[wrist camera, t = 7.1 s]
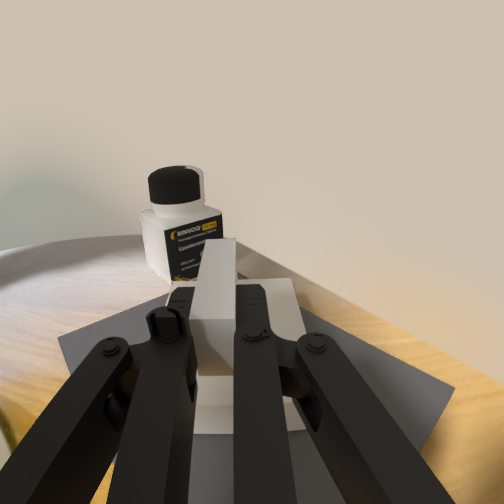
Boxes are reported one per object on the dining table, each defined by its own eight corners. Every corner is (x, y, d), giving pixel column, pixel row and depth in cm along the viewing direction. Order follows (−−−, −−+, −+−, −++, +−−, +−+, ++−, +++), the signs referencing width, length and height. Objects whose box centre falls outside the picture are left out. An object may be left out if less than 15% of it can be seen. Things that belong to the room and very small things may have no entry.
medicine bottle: (172, 290, 33) (158, 177, 28) (146, 266, 38) (133, 170, 32) (226, 268, 37) (221, 166, 32) (195, 250, 42) (187, 160, 37)
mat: (60, 344, 24) (57, 337, 23) (230, 274, 36) (229, 268, 35) (245, 616, 6) (245, 617, 6) (451, 395, 18) (455, 388, 17)
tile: (324, 398, 15) (290, 277, 27) (136, 402, 15) (173, 281, 26) (316, 429, 16) (288, 308, 28) (150, 432, 16) (178, 311, 28)
